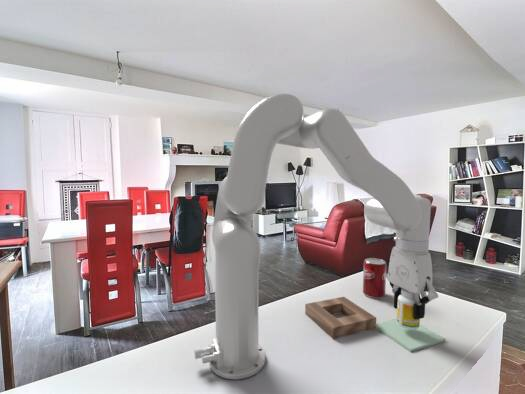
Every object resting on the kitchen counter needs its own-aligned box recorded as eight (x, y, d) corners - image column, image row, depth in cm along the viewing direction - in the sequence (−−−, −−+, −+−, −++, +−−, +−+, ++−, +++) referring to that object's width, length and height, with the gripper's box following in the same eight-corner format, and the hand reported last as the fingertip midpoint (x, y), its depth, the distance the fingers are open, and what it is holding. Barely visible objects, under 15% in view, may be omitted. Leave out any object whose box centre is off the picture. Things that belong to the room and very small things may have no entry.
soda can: (366, 299, 95) (367, 264, 94) (360, 290, 102) (361, 257, 101) (388, 299, 94) (390, 264, 93) (380, 290, 102) (381, 258, 101)
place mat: (410, 351, 67) (410, 349, 67) (373, 326, 78) (373, 324, 78) (445, 340, 71) (445, 338, 71) (405, 318, 82) (405, 316, 82)
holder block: (332, 339, 72) (333, 327, 72) (305, 313, 85) (305, 304, 85) (376, 328, 77) (376, 317, 77) (343, 305, 90) (343, 296, 90)
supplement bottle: (392, 321, 76) (393, 286, 75) (407, 318, 78) (408, 284, 77) (408, 331, 71) (410, 295, 70) (424, 328, 73) (426, 292, 72)
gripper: (375, 238, 79) (373, 301, 81) (432, 255, 63) (427, 332, 65) (395, 236, 82) (393, 297, 83) (454, 252, 66) (450, 326, 67)
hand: (408, 312), depth 74 cm, fingers closed on supplement bottle, 5 cm apart
